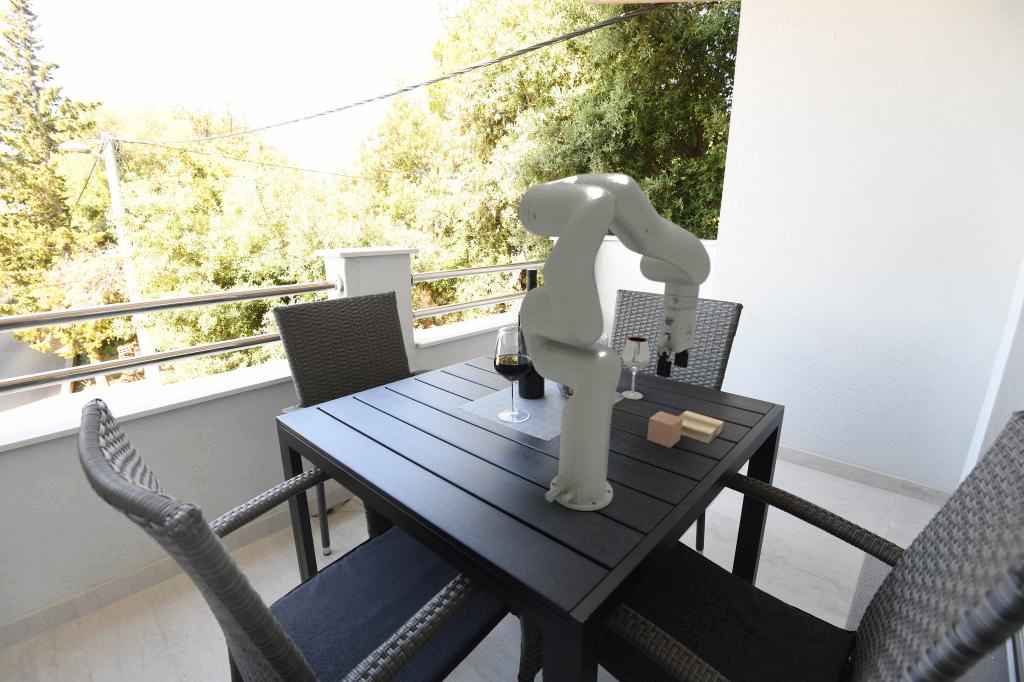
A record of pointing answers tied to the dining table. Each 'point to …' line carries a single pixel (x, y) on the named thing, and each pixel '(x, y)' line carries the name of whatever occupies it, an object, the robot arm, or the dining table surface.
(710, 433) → the oak block
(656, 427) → the painted cube
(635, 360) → the wineglass
